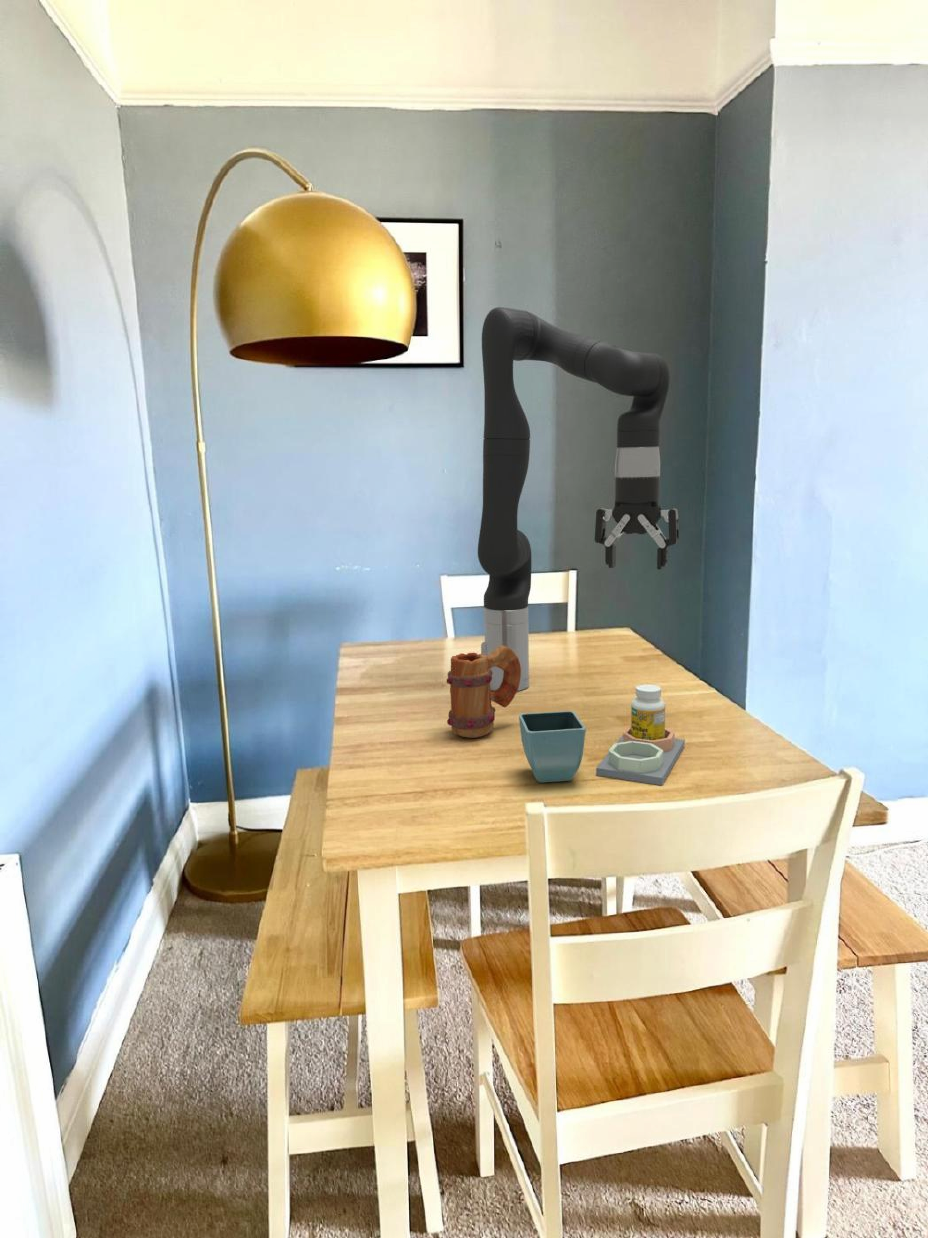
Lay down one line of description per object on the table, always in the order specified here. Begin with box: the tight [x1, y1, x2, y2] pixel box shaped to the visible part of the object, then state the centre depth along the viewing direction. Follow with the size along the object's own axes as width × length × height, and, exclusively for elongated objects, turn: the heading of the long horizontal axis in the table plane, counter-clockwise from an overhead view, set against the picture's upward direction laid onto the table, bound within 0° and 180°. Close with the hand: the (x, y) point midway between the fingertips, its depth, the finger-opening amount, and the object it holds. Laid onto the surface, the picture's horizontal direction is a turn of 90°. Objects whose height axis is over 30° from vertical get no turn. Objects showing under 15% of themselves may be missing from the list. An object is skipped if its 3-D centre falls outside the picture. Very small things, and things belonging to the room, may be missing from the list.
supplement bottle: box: [630, 684, 666, 740], centre depth 129 cm, size 5×5×10 cm
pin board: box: [595, 726, 686, 786], centre depth 126 cm, size 10×17×3 cm, turn 154°
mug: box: [446, 645, 521, 739], centre depth 140 cm, size 15×8×15 cm, turn 118°
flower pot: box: [518, 710, 587, 784], centre depth 120 cm, size 9×9×9 cm
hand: (635, 568), depth 139 cm, fingers open, 8 cm apart
